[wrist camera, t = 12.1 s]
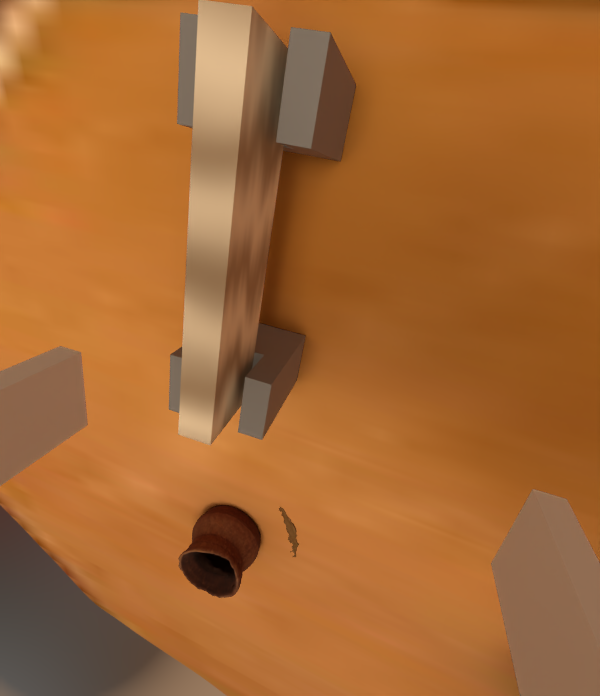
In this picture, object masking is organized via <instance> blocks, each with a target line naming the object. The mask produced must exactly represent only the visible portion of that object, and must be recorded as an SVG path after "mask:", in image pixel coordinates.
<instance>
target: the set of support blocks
mask: <svg viewBox="0 0 600 696" xmlns="http://www.w3.org/2000/svg"><path fill="white" fill-rule="evenodd" d="M197 24H198V15H195V14H188V13H181V15H180V49H179V82H178V116H177V124H180V125H183V126H187V127H190V128H193V109H194V88H195V66H196V45H197ZM355 87H356V84H355V82H354V80H353V78H352V76H351V74H350V72H349V69H348V67H347V65H346V63H345V61H344V59H343V57H342V55H341V53H340V51H339V49H338V47H337V45H336V43H335V41H334V39H333V37H332V35H331V32H323V31H316V30H308V29H301V28H293V27H291V31H290V39H289V46H288V54H287V62H286V69H285V77H284V85H283V92H282V100H281V107H280V115H279V123H278V130H277V138H276V142H277V143H279V144H282V145H284V147H283V151H288V152H293V153H298V154H304V155H309V156H314V157H320V158H325V159H330V160H335V161H341V157H342V152H343V147H344V142H345V137H346V132H347V127H348V122H349V117H350V112H351V107H352V102H353V97H354V92H355ZM304 341H305V335H301V334H298V333H294V332H290V331H287V330H283V329H279V328H276V327H272V326H268V325H265V324H261V323H259V324H258V332H257V339H256V346H255V353H254V360H253V367H252V370H251V371H250V372H249V373H248V374H247V376H246V377H245V383H244V390H243V398H242V406H241V413H240V421H239V429H238V432H239V433H242V434H246V435H249V436H252V437H255V438H258V439H261V440H262V439H263V438H264V436H265V434H266V432H267V431H268V429H269V427H270V426H271V424H272V422H273V420H274V419H275V417H276V415H277V413H278V412H279V410H280V408H281V407H282V405H283V403H284V401H285V400H286V398H287V396H288V395H289V393H290V391H291V389H292V388H293V386H294V384H295V382H296V381H297V376H298V371H299V366H300V361H301V356H302V351H303V346H304ZM181 366H182V347H181V348H179V349H178V350H176V351H175V352H174V353H172V354H171V355H170V388H169V410H172V411H175V412H178V413H179V409H180V387H181Z"/></svg>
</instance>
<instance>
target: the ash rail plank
mask: <svg viewBox="0 0 600 696" xmlns="http://www.w3.org/2000/svg"><path fill="white" fill-rule="evenodd" d="M287 54H288V48H287V47H286V46H285V45H284V44H283V42H282V41H281V40H280V39H279V38H278V36H277V35H276V34H275V33H274V32H273V30H272V29H271V28H270V27H269V26H268V25H267V23H266V22H265V21H264V20H263V19H262V17H261V16H260V15H259V14H258V13H257V12H256V10H255V9H254V8H253V7H252V6H246V5H238V4H230V3H222V2H214V1H207V0H199V2H198V24H197V45H196V66H195V88H194V109H193V131H192V152H191V173H190V195H189V216H188V237H187V259H186V280H185V302H184V323H183V344H182V366H181V387H180V409H179V430H178V435H181V436H184V437H187V438H190V439H193V440H196V441H199V442H202V443H205V444H208V445H211V444H212V443H213V441H214V440H215V439H216V437H217V436H218V435H219V434H220V432H221V431H222V430H223V428H224V427H225V426H226V424H227V423H228V422H229V421H230V419H231V418H232V417H233V415H234V414H235V413H236V411H237V410H238V409H239V408H240V406H241V405H242V398H243V390H244V383H245V377H246V376H247V374H248V373H249V372H250V371H251V370H252V367H253V360H254V353H255V346H256V339H257V332H258V324H259V317H260V310H261V303H262V296H263V289H264V282H265V275H266V268H267V261H268V254H269V247H270V239H271V232H272V225H273V218H274V211H275V204H276V197H277V190H278V183H279V176H280V169H281V162H282V154H283V147H284V145H282V144H279V143H277V142H276V138H277V130H278V123H279V115H280V107H281V100H282V92H283V85H284V77H285V69H286V62H287Z"/></svg>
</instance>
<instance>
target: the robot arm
mask: <svg viewBox="0 0 600 696" xmlns="http://www.w3.org/2000/svg"><path fill="white" fill-rule="evenodd" d="M87 425H88V423H87V412H86V401H85V390H84V379H83V368H82V357H81V352H78V351H75V350H72V349H68V348H65V347H62V346H60V347H57V348H55V349H52V350H50V351H48V352H45V353H43V354H41V355H38V356H36V357H33V358H31V359H29V360H26V361H24V362H22V363H19V364H17V365H14V366H12V367H10V368H7V369H5V370H3V371H0V486H1V485H2V484H4V483H5V482H7V481H8V480H10V479H11V478H12V477H14V476H15V475H17V474H18V473H20V472H21V471H22V470H24V469H25V468H27V467H28V466H30V465H31V464H32V463H34V462H35V461H37V460H38V459H40V458H41V457H42V456H44V455H45V454H47V453H48V452H50V451H51V450H52V449H54V448H55V447H57V446H58V445H60V444H61V443H62V442H64V441H65V440H67V439H68V438H70V437H71V436H72V435H74V434H75V433H77V432H78V431H80V430H81V429H82V428H84V427H85V426H87ZM491 565H492V570H493V574H494V579H495V583H496V588H497V593H498V597H499V602H500V606H501V611H502V615H503V620H504V625H505V629H506V634H507V638H508V643H509V648H510V652H511V657H512V661H513V666H514V671H515V675H516V680H517V684H518V689H519V693H520V696H600V563H599V561H598V559H597V557H596V555H595V553H594V551H593V549H592V547H591V545H590V543H589V541H588V539H587V538H586V536H585V534H584V532H583V530H582V528H581V526H580V524H579V522H578V520H577V518H576V516H575V514H574V512H573V510H572V508H571V506H570V505H569V503H568V501H567V499H565V498H561V497H558V496H555V495H551V494H548V493H545V492H541V491H538V490H535V489H533V490H532V491H531V493H530V495H529V497H528V498H527V500H526V502H525V504H524V506H523V507H522V509H521V511H520V513H519V515H518V516H517V518H516V520H515V522H514V523H513V525H512V527H511V529H510V531H509V532H508V534H507V536H506V538H505V540H504V541H503V543H502V545H501V547H500V549H499V550H498V552H497V554H496V556H495V557H494V559H493V561H492V563H491Z"/></svg>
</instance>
